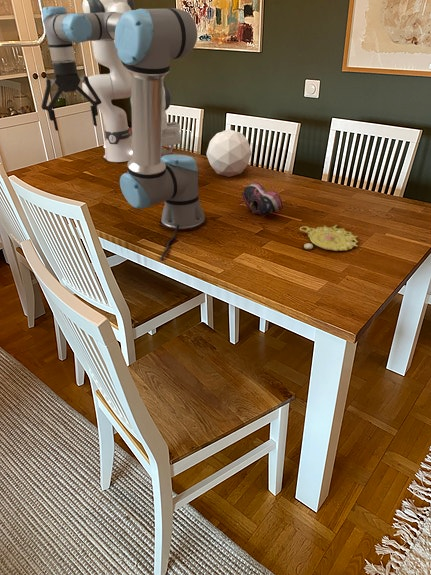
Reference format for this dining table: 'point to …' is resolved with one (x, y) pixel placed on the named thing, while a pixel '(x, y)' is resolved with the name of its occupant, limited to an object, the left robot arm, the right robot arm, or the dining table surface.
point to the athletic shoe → (261, 200)
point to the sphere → (229, 153)
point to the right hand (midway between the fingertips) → (76, 127)
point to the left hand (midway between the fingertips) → (159, 156)
